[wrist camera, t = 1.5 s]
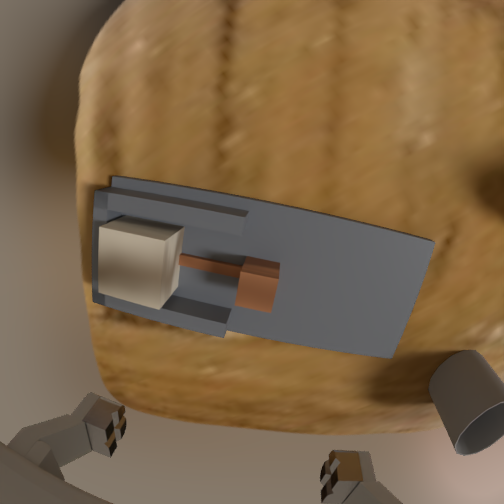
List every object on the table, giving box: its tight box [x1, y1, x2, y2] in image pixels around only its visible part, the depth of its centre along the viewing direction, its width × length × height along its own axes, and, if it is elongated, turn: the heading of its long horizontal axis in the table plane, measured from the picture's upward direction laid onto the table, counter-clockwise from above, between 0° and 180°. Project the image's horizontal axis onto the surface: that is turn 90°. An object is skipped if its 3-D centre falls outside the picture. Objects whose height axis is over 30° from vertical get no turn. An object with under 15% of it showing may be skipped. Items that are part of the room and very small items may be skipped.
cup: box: [428, 350, 504, 456], centre depth 27 cm, size 8×8×10 cm
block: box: [98, 215, 280, 313], centre depth 27 cm, size 6×15×5 cm, turn 80°
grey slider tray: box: [92, 176, 435, 359], centre depth 28 cm, size 13×31×4 cm, turn 80°
